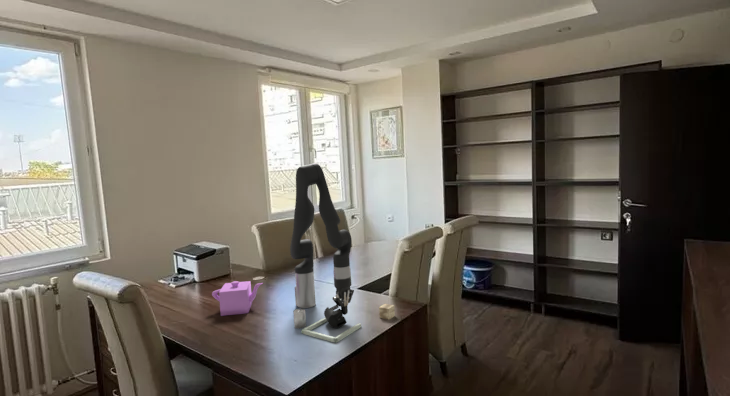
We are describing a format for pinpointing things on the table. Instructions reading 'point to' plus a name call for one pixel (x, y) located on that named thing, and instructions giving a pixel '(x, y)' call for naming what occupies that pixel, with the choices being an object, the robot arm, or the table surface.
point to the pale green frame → (326, 337)
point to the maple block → (386, 311)
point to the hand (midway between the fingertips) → (344, 313)
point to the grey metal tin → (299, 318)
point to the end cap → (334, 317)
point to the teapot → (235, 297)
